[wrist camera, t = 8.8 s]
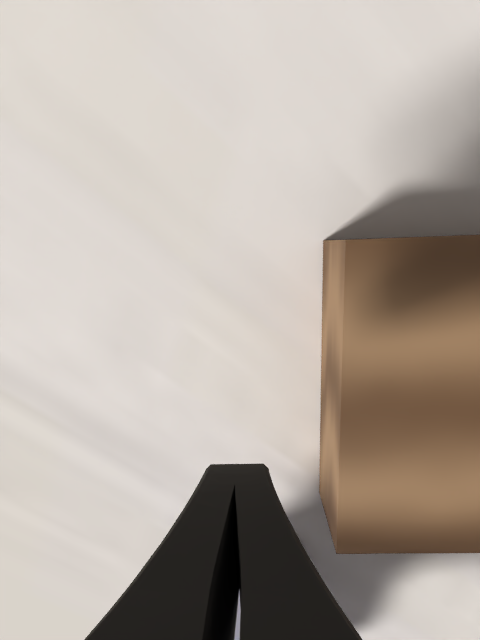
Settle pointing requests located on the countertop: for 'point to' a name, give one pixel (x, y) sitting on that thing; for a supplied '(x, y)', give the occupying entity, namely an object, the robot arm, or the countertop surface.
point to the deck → (401, 394)
